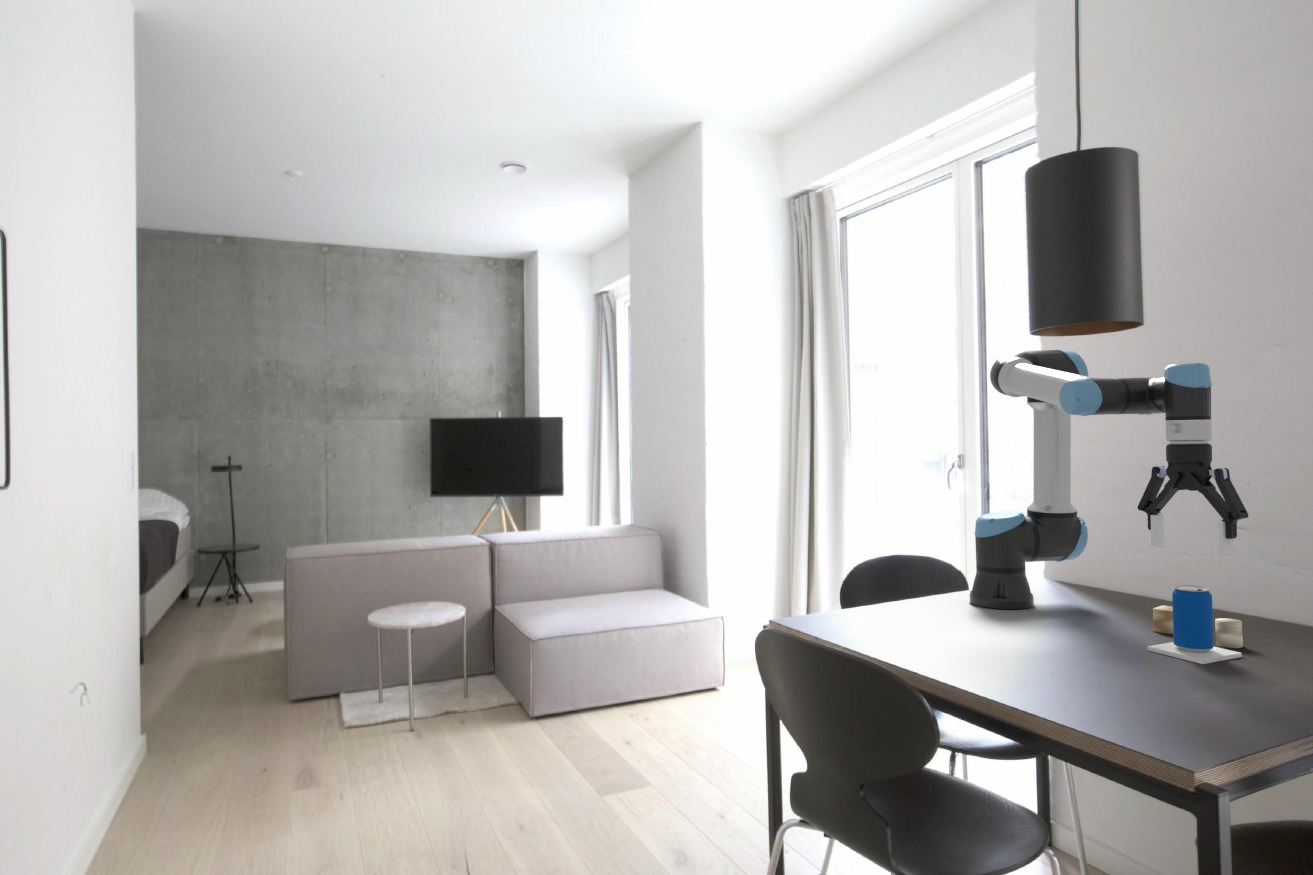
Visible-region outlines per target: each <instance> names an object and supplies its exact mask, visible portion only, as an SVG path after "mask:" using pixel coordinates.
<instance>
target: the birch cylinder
mask: <svg viewBox="0 0 1313 875" xmlns="http://www.w3.org/2000/svg"><path fill="white" fill-rule="evenodd" d="M1214 622H1215V625H1214V626H1215V644H1216V646H1217V647H1218V646H1219V647H1220V648H1228V649H1240V648H1244V643H1243V642H1244V641H1243V637H1244V636H1243V621H1242V620H1240V619H1235V618H1226V617H1225V618H1222V617H1221V618H1215V619H1214Z"/></svg>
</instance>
